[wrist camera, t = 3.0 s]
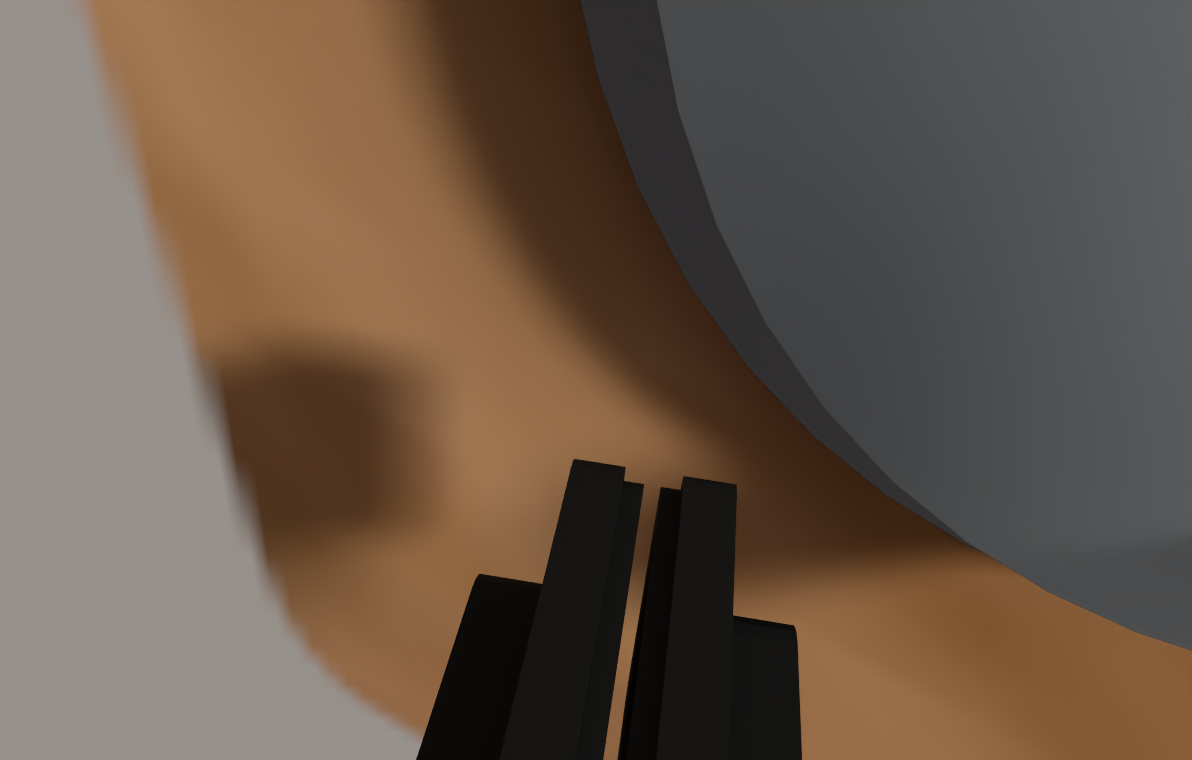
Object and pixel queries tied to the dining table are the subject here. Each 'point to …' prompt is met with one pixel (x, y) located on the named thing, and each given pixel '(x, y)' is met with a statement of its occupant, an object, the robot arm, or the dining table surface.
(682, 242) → the turntable base
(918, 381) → the turntable
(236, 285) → the dining table surface
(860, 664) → the dining table surface
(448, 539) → the dining table surface
